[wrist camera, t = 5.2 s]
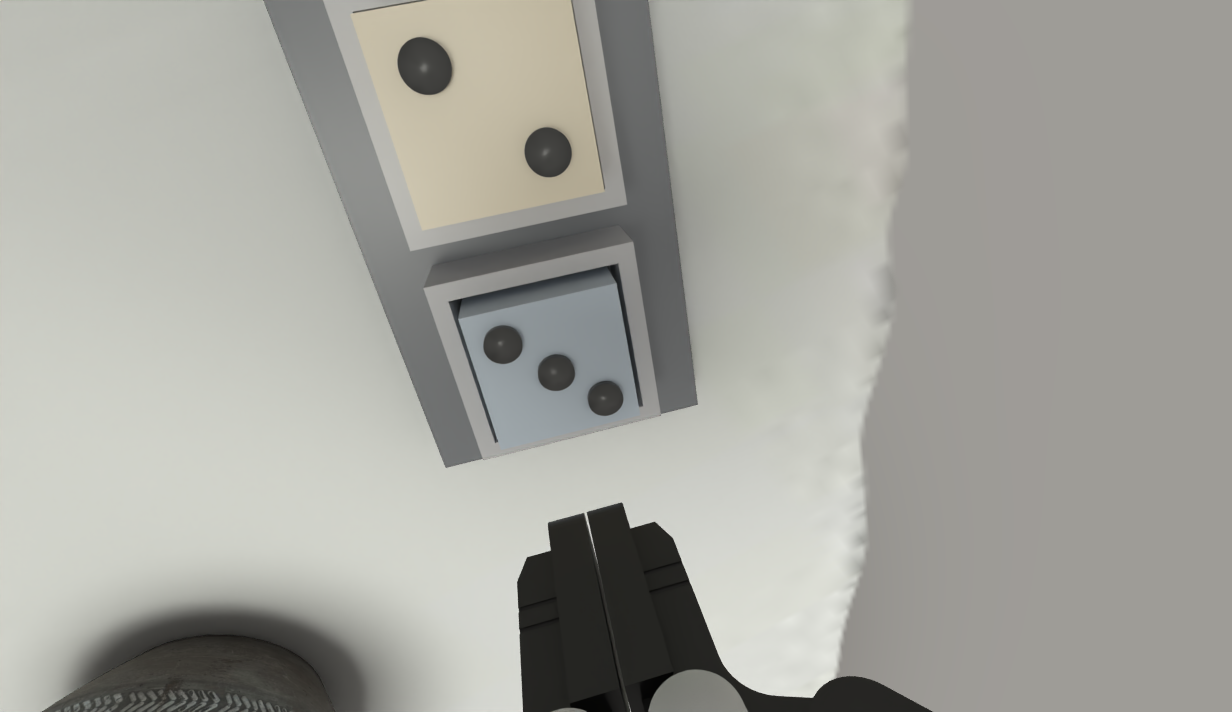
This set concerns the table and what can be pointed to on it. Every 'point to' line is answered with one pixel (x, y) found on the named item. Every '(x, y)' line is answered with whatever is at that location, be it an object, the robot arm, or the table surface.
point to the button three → (551, 356)
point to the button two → (483, 104)
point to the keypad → (504, 217)
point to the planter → (205, 680)
